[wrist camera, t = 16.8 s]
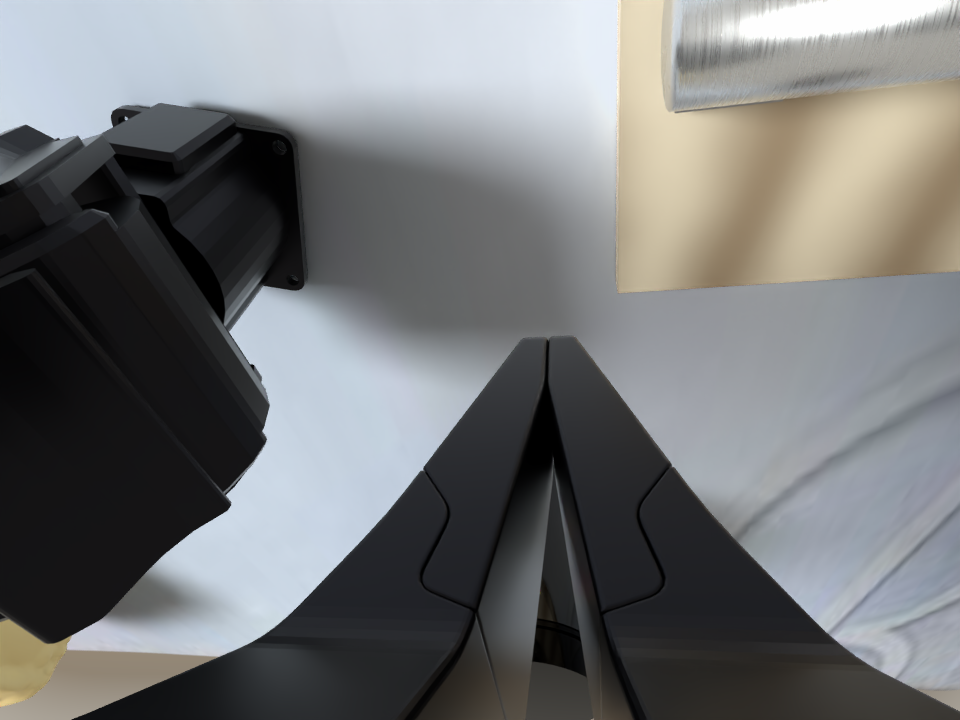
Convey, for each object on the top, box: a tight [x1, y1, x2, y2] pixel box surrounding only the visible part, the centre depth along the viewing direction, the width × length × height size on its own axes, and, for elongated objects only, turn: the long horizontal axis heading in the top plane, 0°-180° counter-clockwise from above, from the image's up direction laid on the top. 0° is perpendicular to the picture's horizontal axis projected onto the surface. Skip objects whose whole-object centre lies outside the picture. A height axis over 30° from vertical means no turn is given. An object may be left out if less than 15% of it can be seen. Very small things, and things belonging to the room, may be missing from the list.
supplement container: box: [525, 465, 593, 720], centre depth 28 cm, size 7×7×10 cm
